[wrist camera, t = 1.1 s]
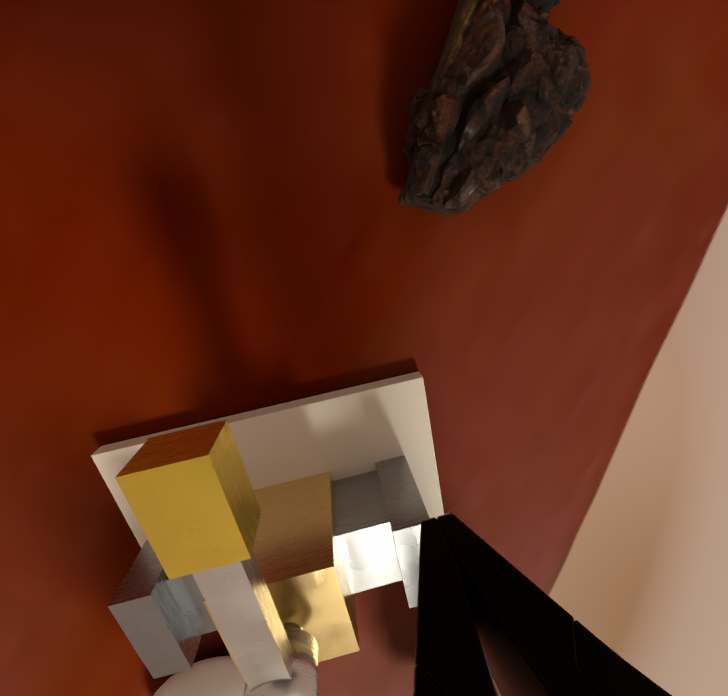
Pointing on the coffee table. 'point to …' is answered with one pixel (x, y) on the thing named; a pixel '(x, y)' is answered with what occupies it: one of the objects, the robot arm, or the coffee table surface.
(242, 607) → the valve lever
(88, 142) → the coffee table surface
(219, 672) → the white rounded piece
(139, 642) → the blocks
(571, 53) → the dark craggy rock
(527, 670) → the robot arm
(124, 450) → the mounting board
